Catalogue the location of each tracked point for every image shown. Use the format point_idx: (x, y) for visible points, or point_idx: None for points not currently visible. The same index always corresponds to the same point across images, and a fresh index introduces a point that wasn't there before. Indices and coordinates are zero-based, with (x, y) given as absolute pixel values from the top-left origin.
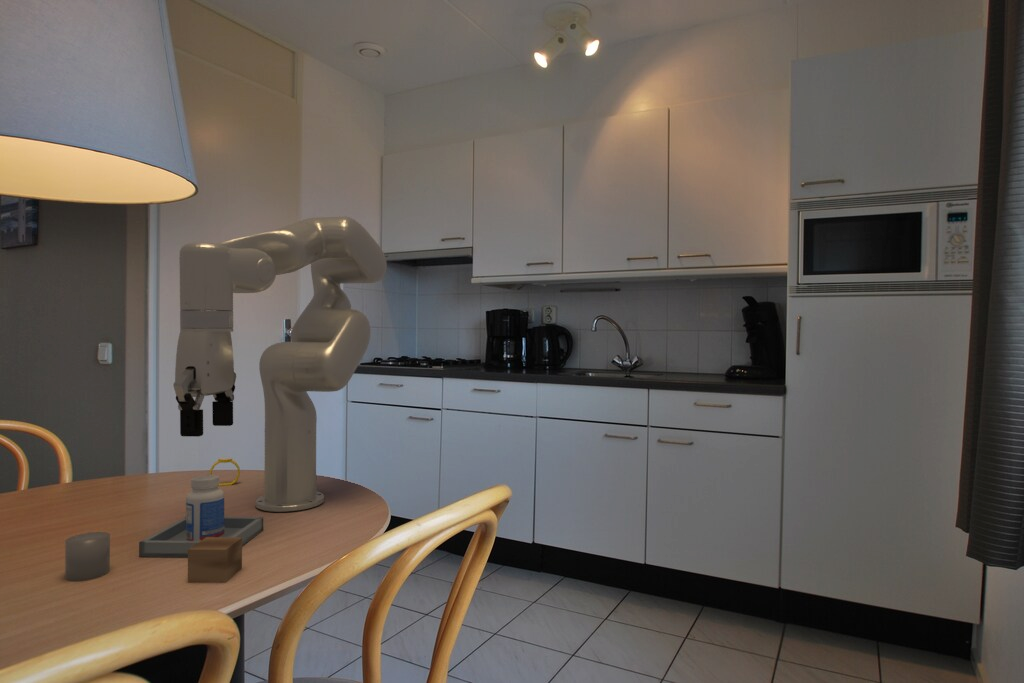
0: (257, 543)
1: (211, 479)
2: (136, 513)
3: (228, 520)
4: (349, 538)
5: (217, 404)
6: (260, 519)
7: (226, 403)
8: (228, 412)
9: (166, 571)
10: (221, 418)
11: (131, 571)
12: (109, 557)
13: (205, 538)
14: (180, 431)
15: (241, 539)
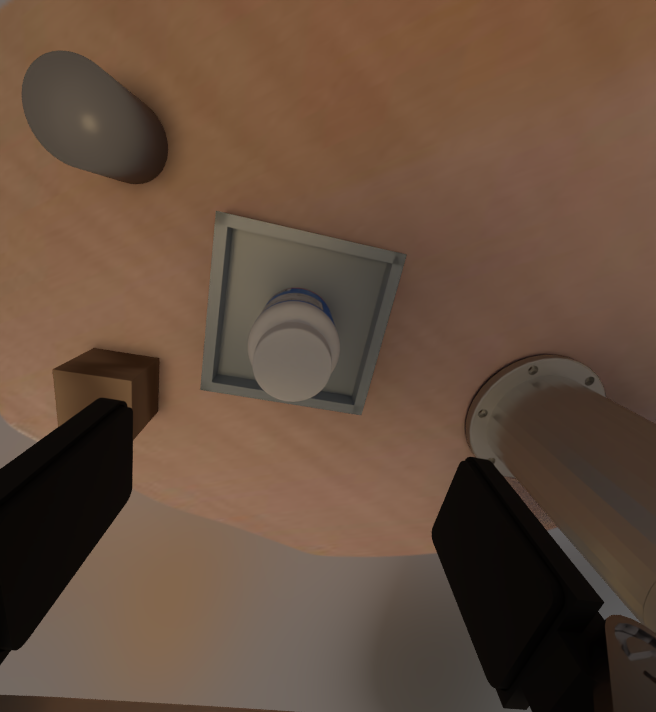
0: (282, 407)
1: (264, 390)
2: (593, 60)
3: (367, 350)
4: (287, 526)
5: (528, 608)
6: (347, 412)
7: (502, 667)
8: (462, 599)
9: (144, 296)
10: (460, 529)
11: (144, 229)
12: (127, 178)
13: (122, 381)
14: (88, 406)
15: None
